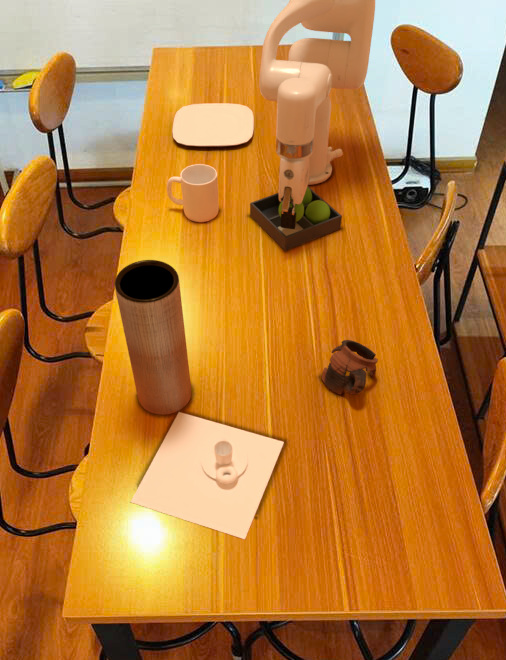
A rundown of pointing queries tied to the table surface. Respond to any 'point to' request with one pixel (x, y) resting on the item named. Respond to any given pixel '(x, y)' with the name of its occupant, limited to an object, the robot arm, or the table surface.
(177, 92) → the table surface
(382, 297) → the table surface
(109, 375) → the table surface
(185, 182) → the cup
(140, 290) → the vase
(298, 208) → the lime
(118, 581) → the table surface
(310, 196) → the lime back left
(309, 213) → the lime back right
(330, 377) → the pottery mug
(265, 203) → the rack
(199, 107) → the plate
